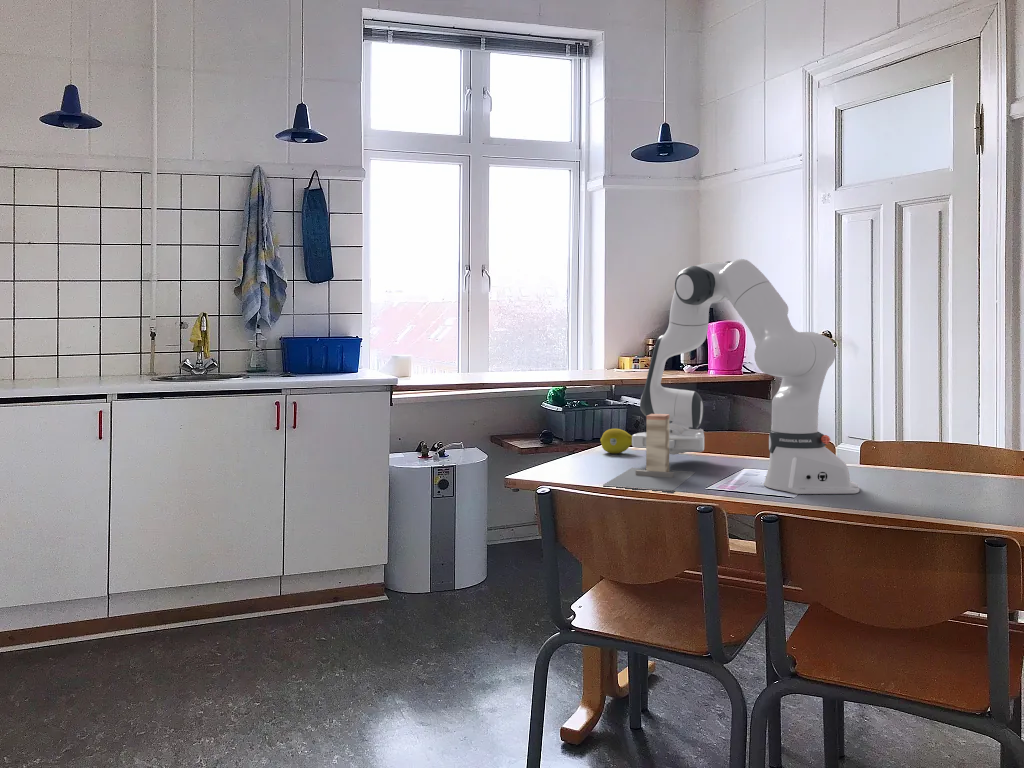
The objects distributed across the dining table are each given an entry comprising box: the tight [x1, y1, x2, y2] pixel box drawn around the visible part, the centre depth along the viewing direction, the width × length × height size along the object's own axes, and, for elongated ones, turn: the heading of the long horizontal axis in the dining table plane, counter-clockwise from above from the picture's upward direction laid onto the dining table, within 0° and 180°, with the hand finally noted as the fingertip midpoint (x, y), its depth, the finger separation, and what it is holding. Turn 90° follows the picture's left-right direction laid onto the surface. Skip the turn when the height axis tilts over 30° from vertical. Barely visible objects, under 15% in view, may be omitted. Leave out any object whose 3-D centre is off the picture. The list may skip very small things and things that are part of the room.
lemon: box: [599, 428, 632, 455], centre depth 263 cm, size 11×8×8 cm
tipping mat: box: [602, 467, 697, 494], centre depth 218 cm, size 26×18×2 cm
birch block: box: [645, 414, 670, 472], centre depth 224 cm, size 5×5×16 cm
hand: (661, 445), depth 227 cm, fingers closed
